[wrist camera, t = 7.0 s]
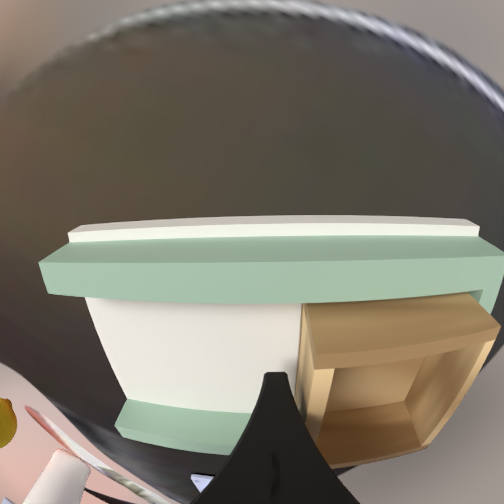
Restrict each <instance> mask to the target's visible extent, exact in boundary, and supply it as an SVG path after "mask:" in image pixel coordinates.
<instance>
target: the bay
mask: <svg viewBox="0 0 504 504" xmlns="http://www.w3.org/2000/svg"><path fill="white" fill-rule="evenodd" d="M479 227H480V226H478V225H476V224H474V223H472V222H470V221H468V220H466V219H451V218H430V217H403V216H356V215H286V216H237V217H208V218H184V219H164V220H147V221H131V222H117V223H103V224H91V225H81V226H79V227H77V228H76V229H74V230H72V231H70V232H68V236H69V241H70V243H68V244H66V245H65V246H63V247H62V248H60V249H58V250H57V251H55V252H54V253H52V254H51V255H49V256H48V257H46V258H44V259H43V260H41V261H40V262H39V266H40V269H41V273H42V276H43V279H44V282H45V285H46V288H47V291H48V293H49V294H58V295H68V296H79V297H85V299H86V302H87V305H88V308H89V311H90V314H91V317H92V319H93V322H94V325H95V328H96V330H97V333H98V335H99V338H100V340H101V343H102V345H103V348H104V350H105V352H106V355H107V357H108V359H109V362H110V364H111V366H112V368H113V370H114V373H115V375H116V377H117V379H118V381H119V383H120V385H121V387H122V389H123V391H124V393H125V395H126V397H127V400H126V402H125V404H124V406H123V408H122V411H121V413H120V415H119V417H118V419H117V421H116V423H115V427H116V428H117V429H118V431H119V432H120V434H121V435H122V436H123V437H125V438H129V439H133V440H137V441H141V442H145V443H150V444H154V445H159V446H164V447H170V448H175V449H181V450H188V451H195V452H203V453H212V454H222V455H230V454H231V452H232V450H233V449H234V447H235V446H236V444H237V442H238V440H239V438H240V437H241V435H242V433H243V431H244V429H245V427H246V425H247V423H248V421H249V419H250V417H251V414H252V412H253V410H254V407H255V405H256V402H257V399H258V397H259V394H260V391H261V387H262V383H263V377H264V374H265V373H266V372H285V373H287V374H288V380H289V384H290V388H291V391H292V394H293V397H294V392H295V382H296V371H297V359H298V347H299V333H300V317H301V303H325V302H348V301H366V300H382V299H396V298H409V297H420V296H431V295H441V294H450V293H459V292H468V293H469V294H470V295H471V296H472V297H473V298H474V299H475V300H476V301H477V302H478V303H479V304H480V305H481V306H482V307H483V308H484V309H485V310H486V311H487V312H488V313H489V314H491V312H492V309H493V306H494V303H495V300H496V298H497V295H498V292H499V288H500V285H501V282H502V279H503V275H504V252H502V251H501V250H499V249H498V248H496V247H495V246H493V245H491V244H490V243H488V242H487V241H485V240H483V239H482V238H480V237H478V233H479Z"/></svg>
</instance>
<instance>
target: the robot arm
mask: <svg viewBox="0 0 504 504" xmlns="http://www.w3.org/2000/svg"><path fill="white" fill-rule="evenodd" d="M191 479H192V481H193V482H194V484H195V485H196V487H197V488H198V490H199V491H200V494H199V495H198V496H197V497H196V498H195V499H194V500H193V501H192V502H191V503H190V504H360V503H359V502H358V501H357V500H356V499H355V497H354V496H353V495H352V494H351V493H350V492H349V491H348V489H347V488H346V487H345V486H344V485H343V484H342V482H341V481H340V480H339V479H338V477H337V476H336V475H335V473H334V472H333V470H332V469H331V468H330V466H329V465H328V463H327V462H326V460H325V459H324V457H323V456H322V454H321V453H320V451H319V449H318V448H317V446H316V444H315V442H314V440H313V439H312V437H311V435H310V433H309V431H308V429H307V427H306V425H305V423H304V421H303V419H302V417H301V414H300V412H299V410H298V407H297V405H296V402H295V400H294V397H293V394H292V391H291V388H290V384H289V380H288V374H287V373H285V372H266V373H265V374H264V377H263V383H262V387H261V391H260V394H259V397H258V399H257V402H256V405H255V407H254V410H253V412H252V414H251V417H250V419H249V421H248V423H247V425H246V427H245V429H244V431H243V433H242V435H241V437H240V438H239V440H238V442H237V444H236V446H235V447H234V449H233V450H232V452H231V454H230V455H229V457H228V458H227V460H226V461H225V463H224V464H223V465H222V467H221V468H220V470H219V471H218V472H217V473H216V475H215V476H214V477H213V476H205V475H197V474H192V475H191ZM2 504H15V503H14V502H12V501H11V500H9V499H8V498H6V497H5V498H4V500H3V502H2Z"/></svg>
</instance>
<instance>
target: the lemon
mask: <svg viewBox="0 0 504 504" xmlns="http://www.w3.org/2000/svg"><path fill="white" fill-rule="evenodd" d="M16 429H17V419H16V416H15V413H14V411H13V409H12V403H11V401H10V400H8V399H2V398H0V448H2V447H4V446H6V445H7V444H8V443H9V442H10V441H11V440H12V438H13V437H14V435H15V433H16Z"/></svg>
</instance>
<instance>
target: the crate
mask: <svg viewBox="0 0 504 504" xmlns="http://www.w3.org/2000/svg"><path fill="white" fill-rule="evenodd" d="M500 327H501V326H500V325H499V324H498V322H497V321H496V320H495V319H494V318H493V317H492V316H491V315H490V314H489V313H488V312H487V311H486V310H485V309H484V308H483V307H482V306H481V305H480V304H479V303H478V302H477V301H476V300H475V299H474V298H473V297H472V296H471V295H470V294H469V293H468V292H459V293H450V294H441V295H431V296H420V297H409V298H396V299H382V300H366V301H348V302H325V303H301V317H300V333H299V347H298V359H297V371H296V382H295V392H294V400H295V402H296V405H297V407H298V410H299V412H300V414H301V417H302V419H303V421H304V423H305V425H306V427H307V429H308V431H309V433H310V435H311V437H312V439H313V440H314V442H315V444H316V446H317V448H318V449H319V451H320V453H321V454H322V456H323V457H324V459H325V460H326V462H327V463H328V465H329V466H330V468H331V469H334V468H342V467H349V466H355V465H361V464H367V463H372V462H376V461H381V460H386V459H390V458H394V457H398V456H402V455H406V454H409V453H413V452H416V451H420V450H423V449H426V448H427V447H428V445H429V444H430V443H431V442H432V440H433V439H434V438H435V437H436V435H437V434H438V433H439V432H440V430H441V429H442V428H443V426H444V425H445V423H446V422H447V421H448V420H449V418H450V417H451V415H452V414H453V412H454V411H455V409H456V408H457V407H458V405H459V404H460V402H461V401H462V399H463V397H464V396H465V394H466V393H467V391H468V389H469V388H470V386H471V385H472V383H473V381H474V379H475V378H476V376H477V374H478V372H479V371H480V369H481V367H482V365H483V363H484V361H485V359H486V357H487V355H488V353H489V351H490V349H491V347H492V345H493V343H494V341H495V339H496V337H497V334H498V332H499V330H500Z"/></svg>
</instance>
